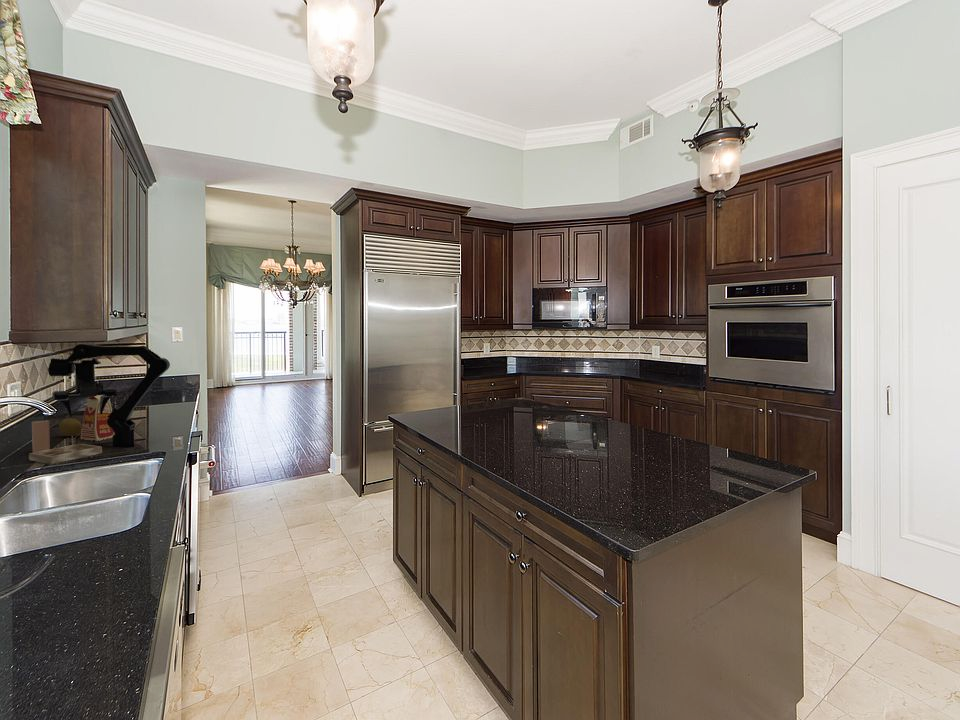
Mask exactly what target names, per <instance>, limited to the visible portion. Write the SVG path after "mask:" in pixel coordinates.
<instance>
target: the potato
mask: <svg viewBox="0 0 960 720" xmlns="http://www.w3.org/2000/svg"><path fill="white" fill-rule="evenodd" d="M58 428H59V431H60V433H61V434H62V435H63V436H65V437H67V436H75V437H76V436H79V435H81V429H82V423H81V422H80V421H78V419H76V418H72V417H70V418H65V419H63V420H61V421H60V423H59V425H58Z"/></svg>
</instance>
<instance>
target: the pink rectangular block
mask: <svg viewBox="0 0 960 720" xmlns="http://www.w3.org/2000/svg"><path fill="white" fill-rule="evenodd" d="M31 435H32V436H31V437H32V439H31V440H32V442H31V443H32V453H34V452H39V451H44V450H49V449H51V445H50V443H51V442H50V438H51V437H50V421H49V420H47V419H46V420H37V421H31Z"/></svg>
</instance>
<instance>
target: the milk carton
mask: <svg viewBox="0 0 960 720" xmlns="http://www.w3.org/2000/svg"><path fill="white" fill-rule="evenodd" d="M101 396H102V395H97V396H89V398H88V400H87V403H86V406H85V409H84V414H83V420H82V423H81V425H82V429H81V433H80V440H83V439H84V440H85V441H93V440H95V441H96V442H99V441H102V440H103V439H104V440H108V439H113V435H114V431H113V429H112V428H111V427H109V426H108V424H107V420H108V418H109V417H107V416H109V415H110V414H111V413H112V411H113V408H112V403H111V400H110V399H109V400H108V401H107V403H106V405H105V407H104V410H103V412H102V414H100V397H101ZM107 438H108V439H107ZM98 440H99V441H98Z"/></svg>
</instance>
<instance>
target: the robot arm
mask: <svg viewBox="0 0 960 720" xmlns="http://www.w3.org/2000/svg"><path fill="white" fill-rule="evenodd" d="M105 356H107V357H108V356H109V357H110V356H111V357H112V356H113V357H114V356H122V357H123V356H139V357H140V358H141V359H142V360H143V361H144V362H145V363H146V364H148V365H149V366H148V368H147V370H146V373H145V376H144V377H143V378H142V380H141V381H140V383H139V384H138V385H137V386H136V388H135V389H134V390H133V391H132V393H131V394H130V396H128V398H127V399H126V400H125V402H124V403H123V405H121V406H119V405H117V406H115V407H113V408H112V413H111V414H110V415H109V416H107V417H109V418H108V420H107V424H108V426H109V427H111V428H112V429H113V431H114V435H113V437H112V446H113V447H114V448H129V447H135V446H136V442H135V441H136V440H135V427H136V425H137V424H136V422H134V421H133V420H132V419H130V418H131V417H132V415H133V412H134V409H135V408H136V407H137V406H138V403H140V402H141V400H142V399H143V398H144V396H145V395H146V394H147V392H148V391H149V390H150V388H151V387H152V385H153V384H154V383H155V382H156V381H157V380H158V379H159V378H160V377H161V376H162V375H164V373H165V372H167V371H168V370H169V369H170V367H171V364H170V361H169V360H168V359H167V358H164V357H161V356H159V354H157V353H155V352H154V351H153V350H151V349H150V348H149V347H148V346H146V345H139V346H137V345H134V346H133V345H132V346H131V345H130V346H127V345H125V346H121V345H120V346H117V345H116V346H106V345H99V344H93V343H92V344H91V343H79V344H76V345H75V346H74V347H73V349H72V353H70V355H69V356H68V357H67V358H51V359H50V362H49V365H48V367H47V372H48V375H49V376H50V377H71V376H72V374H75V378H74V381H75V391H73V392H72V391H71V392H69V391H68V390H54V391H53V392H52V394H51V395H52V398H51V399H53V400H54V401H56V402H59V403H61V404H62V405H63V407H64V408H65V411H66V412H67V414H68V417H70V418H72V408H71V403H70V402H71V401H70V399H69V398H76V397H78V398H79V397H81V398H87V397H91V396H97V395H102V396H101V397H100V414H102V412H103V410H104V407H105V405H106V403H107V401H108V400H110V399H113V397H117V396H118V393H117V389H116V388H114V387H107V388H106V387H105V388H104V383H103V382H98V383H96V381H95V380H96V378H95V377H96V376H95V365H101V364H102V362H101V361H99V359H97V358H99V357H105ZM78 361H81V362H78Z"/></svg>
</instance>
